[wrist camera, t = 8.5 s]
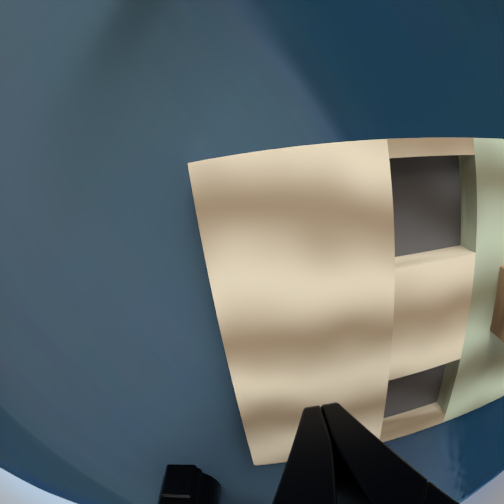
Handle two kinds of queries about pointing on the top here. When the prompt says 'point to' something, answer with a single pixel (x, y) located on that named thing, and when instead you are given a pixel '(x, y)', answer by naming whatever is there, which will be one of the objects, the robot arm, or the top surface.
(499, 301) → the walnut block
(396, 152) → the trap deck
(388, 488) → the robot arm
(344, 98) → the top surface
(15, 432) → the top surface
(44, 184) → the top surface
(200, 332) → the top surface
